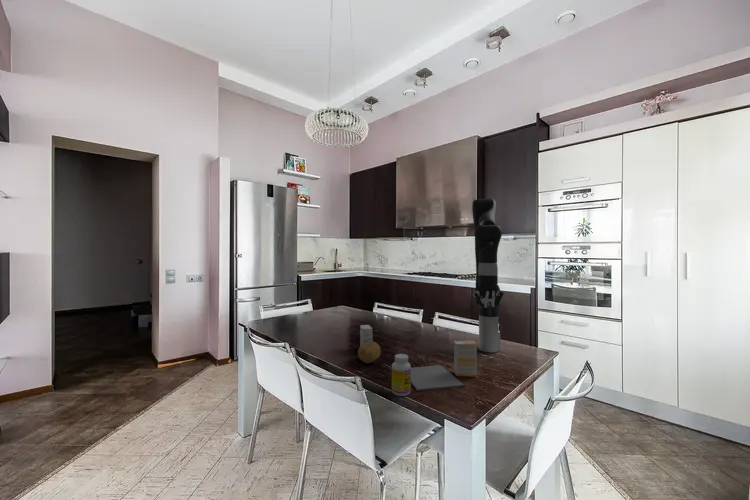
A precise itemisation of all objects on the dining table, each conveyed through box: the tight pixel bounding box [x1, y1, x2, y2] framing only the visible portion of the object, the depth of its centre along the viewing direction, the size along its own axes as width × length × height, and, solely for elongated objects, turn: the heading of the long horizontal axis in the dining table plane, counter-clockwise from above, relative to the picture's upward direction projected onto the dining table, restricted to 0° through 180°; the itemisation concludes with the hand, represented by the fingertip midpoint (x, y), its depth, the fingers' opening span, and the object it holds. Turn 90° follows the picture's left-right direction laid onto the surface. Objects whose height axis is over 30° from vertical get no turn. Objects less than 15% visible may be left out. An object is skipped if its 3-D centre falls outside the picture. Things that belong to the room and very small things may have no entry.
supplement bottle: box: [391, 353, 412, 397], centre depth 112 cm, size 7×7×13 cm
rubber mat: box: [411, 365, 465, 392], centre depth 125 cm, size 18×20×1 cm
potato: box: [357, 341, 382, 364], centre depth 142 cm, size 10×14×8 cm
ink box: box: [359, 324, 374, 348], centre depth 158 cm, size 9×5×12 cm, turn 13°
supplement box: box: [453, 340, 478, 378], centre depth 129 cm, size 8×5×13 cm, turn 84°
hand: (487, 316), depth 131 cm, fingers closed
